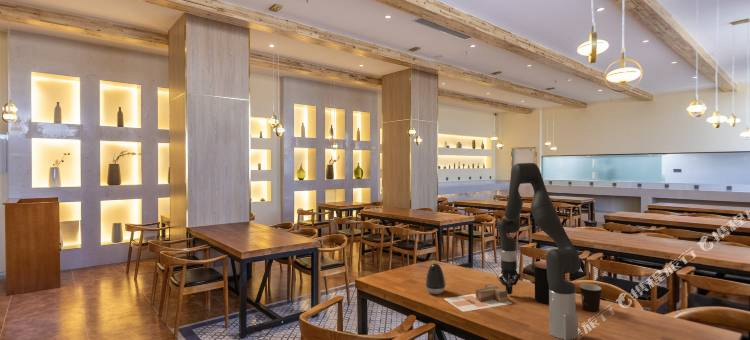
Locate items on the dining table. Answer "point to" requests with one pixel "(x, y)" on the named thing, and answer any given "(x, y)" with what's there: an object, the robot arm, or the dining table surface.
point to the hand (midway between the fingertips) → (509, 293)
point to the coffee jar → (541, 282)
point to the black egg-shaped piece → (435, 279)
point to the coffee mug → (590, 297)
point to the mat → (472, 303)
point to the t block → (491, 294)
